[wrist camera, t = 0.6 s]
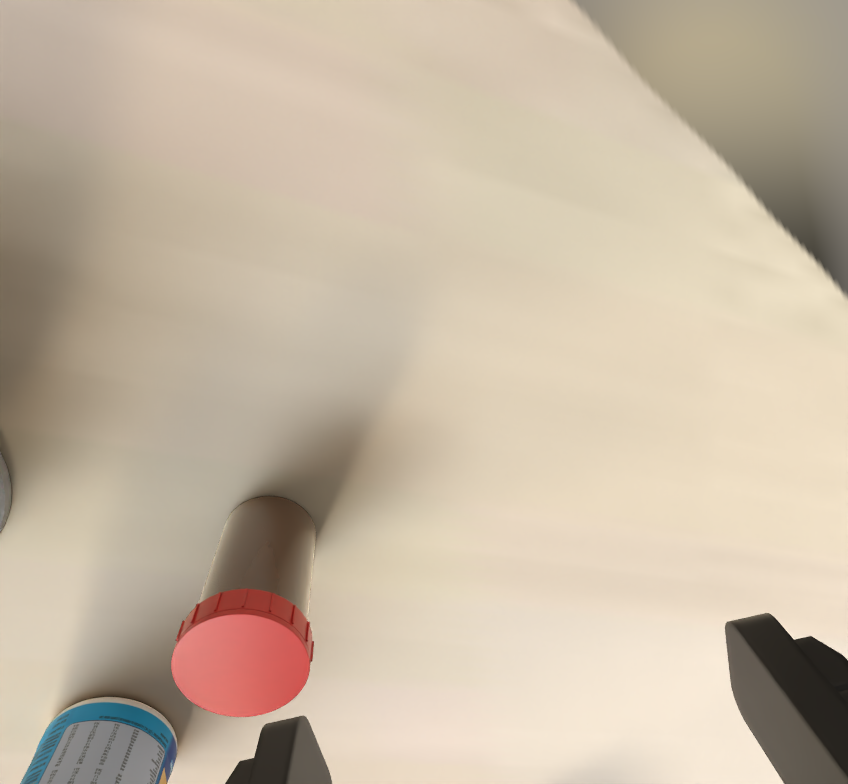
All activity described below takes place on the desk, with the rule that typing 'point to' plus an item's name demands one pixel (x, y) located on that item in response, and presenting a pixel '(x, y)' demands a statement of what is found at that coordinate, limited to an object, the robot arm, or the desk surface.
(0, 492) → the mate gourd
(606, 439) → the desk surface
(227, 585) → the jar
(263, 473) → the desk surface
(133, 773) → the blue labeled canister
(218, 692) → the lid
